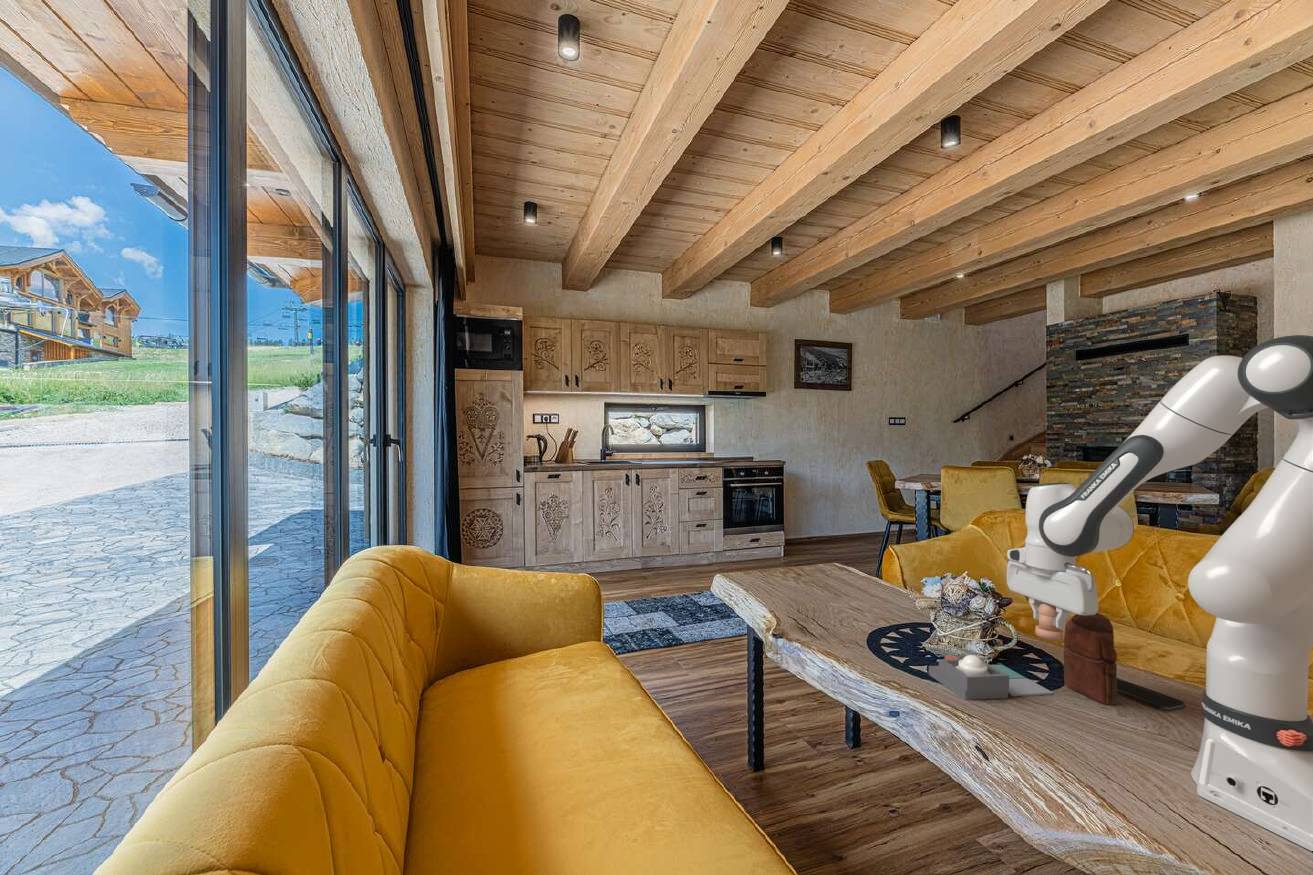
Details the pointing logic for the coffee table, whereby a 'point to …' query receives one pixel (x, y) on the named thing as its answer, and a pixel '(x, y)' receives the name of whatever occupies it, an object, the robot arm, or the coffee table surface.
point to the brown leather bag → (1091, 657)
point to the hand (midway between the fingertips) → (1049, 623)
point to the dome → (972, 666)
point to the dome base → (970, 680)
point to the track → (1022, 684)
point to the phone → (1148, 696)
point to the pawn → (1048, 623)
